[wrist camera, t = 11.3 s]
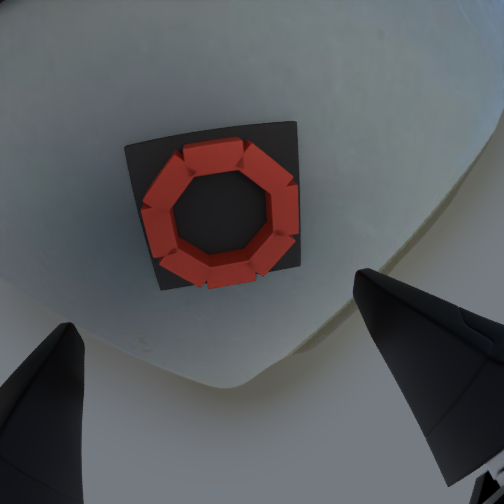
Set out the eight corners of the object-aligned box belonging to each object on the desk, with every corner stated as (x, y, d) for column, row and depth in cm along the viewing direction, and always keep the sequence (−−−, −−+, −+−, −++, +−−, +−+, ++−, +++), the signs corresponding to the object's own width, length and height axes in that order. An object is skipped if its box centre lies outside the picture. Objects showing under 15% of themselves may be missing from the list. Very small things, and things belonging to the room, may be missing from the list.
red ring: (166, 282, 19) (164, 296, 18) (134, 154, 15) (128, 160, 14) (292, 260, 21) (299, 272, 19) (287, 131, 16) (295, 134, 15)
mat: (161, 286, 20) (160, 290, 20) (125, 145, 15) (123, 147, 15) (298, 262, 21) (300, 266, 21) (294, 121, 16) (296, 121, 16)
